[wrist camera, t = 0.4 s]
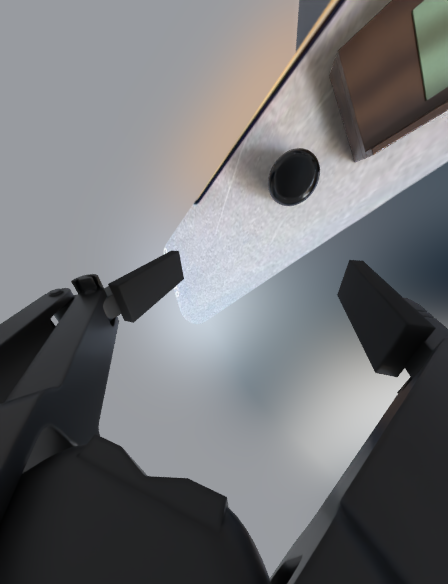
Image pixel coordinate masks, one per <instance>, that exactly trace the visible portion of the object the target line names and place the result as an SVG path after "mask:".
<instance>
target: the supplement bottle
mask: <svg viewBox="0 0 448 584" xmlns="http://www.w3.org/2000/svg"><path fill="white" fill-rule="evenodd" d="M319 176H320V166H319V162H318V160H317V158H316V156H315V155H314V154H313V153H312V152H310V151H309V150H307V149H303V148H296V149H292V150H289V151H287V152H286V153H284V154H283V155H281V156H280V157H279V158H278V159H277V161H276V162H275V163H274V165H273V167H272V169H271V171H270V174H269V178H268V188H269V192H270V195H271V196H272V198H273V199H274V200H275V201H276V202H277V203H279V204H281V205H284V206H294V205H297V204H299V203H301V202H303V201H304V200H306V199H307V198H308V197H309V196H310V195H311V194H312V193H313V191H314V190H315V188H316V186H317V183H318V181H319Z"/></svg>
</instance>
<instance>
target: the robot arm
mask: <svg viewBox="0 0 448 584" xmlns="http://www.w3.org/2000/svg"><path fill="white" fill-rule="evenodd" d="M183 279H184V277H183V272H182V266H181V261H180V255H179V251H170V252H168V253H166V254H164V255H162V256H160V257H159V258H157V259H155V260H153V261H151V262H149V263H147V264H146V265H143V266H141V267H140V268H138V269H136V270H134V271H132V272H130V273H128V274H126V275H124V276H123V277H121V278H119V279H117V280H115V281H113V282H111V283H109V284H108V285H109V286H108V287H106V288H103V285H102V283H101V281H100V279H99V277H98V275H96V274H90V275H84V276H81V277H78V278H76V279H74V280H72V281H71V282H72V284H73V285H74V287H75V289H76V291H77V292H78V295H73V294H72V292H71V290H70V289H68V288H62V289H55V290H52V291H50V292H49V293H47V294H45V295H43V296H42V297H40V298H39V299H37V300H36V301H35V302H33V303H31V304H30V305H29V306H27V307H25V308H24V309H22V310H21V311H20V312H18V313H17V314H15V315H14V316H12V317H10V318H9V319H8V320H6V321H5V322H3V323H2V324H0V584H448V329H447V328H446V327H445V326H444V325H442V324H441V323H440V322H439V321H438V320H437V319H435V318H434V317H433V316H432V315H431V314H430V313H427V311H426V310H425V309H424V308H423V307H421V306H420V305H419V304H417V303H415V302H414V301H412V300H409V299H408V298H402V296H401V295H399V294H398V293H397V292H396V291H395V290H394V289H393V288H392V287H391V286H390V285H389V284H387V283H386V282H385V281H384V280H383V279H382V278H381V277H380V276H379V275H378V274H377V273H375V272H374V271H373V270H372V269H371V268H370V267H369V266H368V265H367V264H366V263H365V262H364V261H356V260H349V263H348V266H347V269H346V271H345V274H344V277H343V280H342V283H341V286H340V289H339V292H338V297H339V299H340V301H341V303H342V305H343V308H344V310H345V312H346V314H347V316H348V318H349V320H350V322H351V324H352V326H353V328H354V330H355V332H356V334H357V336H358V338H359V340H360V342H361V344H362V346H363V348H364V350H365V353H366V355H367V357H368V359H369V361H370V363H371V364H372V367H373V369H374V371H375V372H376V373H379V374H384V375H390V376H394V377H398V376H399V374H400V373H401V372H402V371H403V369H404V368H405V369H406V370H407V372H408V373H409V375H410V376H411V377H410V378H409V380H408V381H407V382H406V383H405V384H404V385H403V387H402V388H401V389H400V390H399V391H398V392H397V393H398V395H397V396H396V398H395V399H394V401H393V402H392V404H391V405H390V407H389V408H388V410H387V411H386V413H385V414H384V415H383V417H382V418H381V420H380V421H379V423H378V424H377V426H376V427H375V429H374V430H373V432H372V433H371V435H370V436H369V438H368V439H367V440H366V442H365V443H364V445H363V446H362V448H361V449H360V451H359V452H358V453H357V455H356V456H355V458H354V459H353V461H352V462H351V464H350V465H349V467H348V468H347V470H346V471H345V473H344V474H343V476H342V477H341V478H340V480H339V481H338V483H337V484H336V486H335V487H334V489H333V490H332V492H331V493H330V495H329V496H328V498H327V499H326V500H325V502H324V503H323V505H322V506H321V508H320V509H319V511H318V512H317V514H316V515H315V516H314V518H313V519H312V521H311V522H310V524H309V525H308V526H307V528H306V529H305V530H304V531H303V533H302V534H301V535H300V536H299V538H298V539H297V541H296V542H295V543H294V544H293V546H292V547H291V549H290V550H289V551H288V553H287V555H286V556H285V557H284V559H283V560H282V562H281V563H280V564H279V566H278V568H277V569H276V570H275V572H274V573H273V575H272V576H271V578H270V579H269V576H268V573H267V571H266V568H265V565H264V563H263V561H262V558H261V556H260V554H259V552H258V550H257V548H256V546H255V544H254V542H253V540H252V538H251V536H250V535H249V533H248V531H247V530H246V528H245V527H244V525H243V524H242V523H241V521H240V520H239V519H238V517H237V516H236V515H235V514H234V513H233V512H232V511H231V510H230V509H229V508H228V502H227V497H225V496H223V495H221V494H219V493H217V492H215V491H213V490H211V489H209V488H207V487H205V486H202V485H200V484H198V483H196V482H194V481H192V480H190V479H188V478H169V477H150V476H147V475H146V474H145V473H144V471H143V470H142V469H141V468H140V467H139V466H138V465H137V464H136V462H135V461H134V460H133V459H132V458H131V457H130V456H129V455H128V453H127V452H126V451H125V450H124V449H123V448H122V447H121V446H119V445H117V444H115V443H113V442H111V441H108V440H106V439H104V438H102V437H100V434H99V429H98V426H99V419H100V414H101V409H102V404H103V399H104V394H105V389H106V384H107V379H108V374H109V369H110V364H111V359H112V353H113V349H114V344H115V339H116V334H117V329H118V323H119V320H118V317H117V316H118V315H120V314H122V316H123V319H124V320H125V321H129V322H135V321H136V320H137V319H138V318H139V317H141V316H142V315H143V314H144V313H145V312H146V311H147V310H149V309H150V308H151V307H152V306H153V305H154V304H156V303H157V302H158V301H159V300H160V299H161V298H162V297H164V296H165V295H166V294H167V293H168V292H169V291H170V290H172V289H173V288H174V287H175V286H176V285H177V284H179V283H180V282H181V281H182V280H183ZM53 315H54V316H55V317H56V319H57V320H58V322H59V323H58V324H57V326H55V325H54V323H53V322H52V321H51V317H52V316H53Z"/></svg>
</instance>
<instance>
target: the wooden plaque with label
mask: <svg viewBox="0 0 448 584" xmlns="http://www.w3.org/2000/svg"><path fill="white" fill-rule="evenodd" d="M329 76H330V79H331V83H332V86H333V90H334V93H335V97H336V100H337V103H338V107H339V110H340V114H341V117H342V120H343V124H344V127H345V131H346V134H347V137H348V141H349V144H350V148H351V151H352V154H353V158H354V161H355V162H357V161H360V160H362V159H365V158H367V157H370V156H372V155H374V154H376V153H378V152H379V151H381V150H383V149H384V148H386V147H387V146H389V145H391V144H392V143H394V142H396V141H397V140H399V139H401V138H402V137H404V136H406V135H407V134H409V133H411V132H412V131H414V130H416V129H417V128H419V127H421V126H422V125H424V124H426V123H427V122H429V121H430V120H432V119H434V118H435V117H437V116H439V115H440V114H442V113H444V112H445V111H447V110H448V0H392V1H391V2H390V3H389V4H387V5H386V6H385V7H384V8H383V9H382V10H381V11H380V12H379V13H378V14H377V15H376V16H375V17H374V18H373V19H371V20H370V21H369V22H368V23H367V24H366V25H365V26H364V27H363V28H362V29H361V30H360V31H359V32H358V33H356V34H355V35H354V36H353V37H352V38H351V39H350V40H349V41H348V42H347V43H346V44H345V45H344V46H343V47H341V48H340V49H339V50H338V52H337V55H336V58H335V61H334V63H333V66H332V69H331V71H330V74H329Z"/></svg>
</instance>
